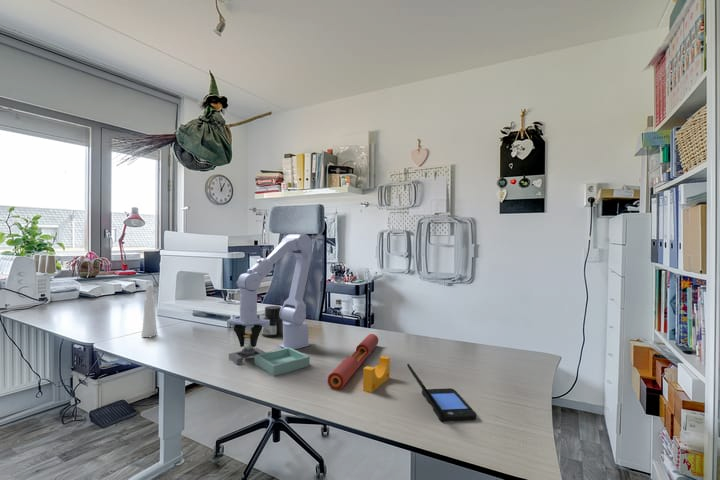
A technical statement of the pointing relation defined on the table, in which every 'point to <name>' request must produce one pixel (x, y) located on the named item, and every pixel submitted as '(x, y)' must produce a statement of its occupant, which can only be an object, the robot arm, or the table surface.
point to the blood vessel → (352, 362)
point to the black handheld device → (446, 403)
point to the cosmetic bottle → (149, 313)
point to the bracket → (237, 356)
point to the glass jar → (248, 345)
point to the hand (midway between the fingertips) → (248, 346)
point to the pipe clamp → (376, 374)
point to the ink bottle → (273, 322)
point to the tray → (281, 361)
